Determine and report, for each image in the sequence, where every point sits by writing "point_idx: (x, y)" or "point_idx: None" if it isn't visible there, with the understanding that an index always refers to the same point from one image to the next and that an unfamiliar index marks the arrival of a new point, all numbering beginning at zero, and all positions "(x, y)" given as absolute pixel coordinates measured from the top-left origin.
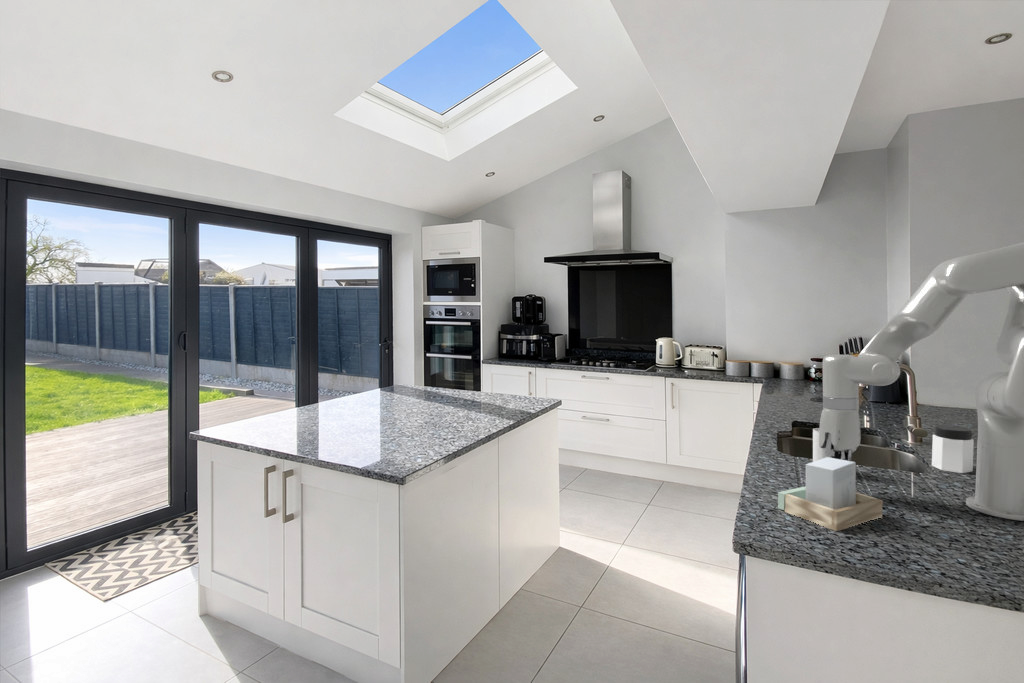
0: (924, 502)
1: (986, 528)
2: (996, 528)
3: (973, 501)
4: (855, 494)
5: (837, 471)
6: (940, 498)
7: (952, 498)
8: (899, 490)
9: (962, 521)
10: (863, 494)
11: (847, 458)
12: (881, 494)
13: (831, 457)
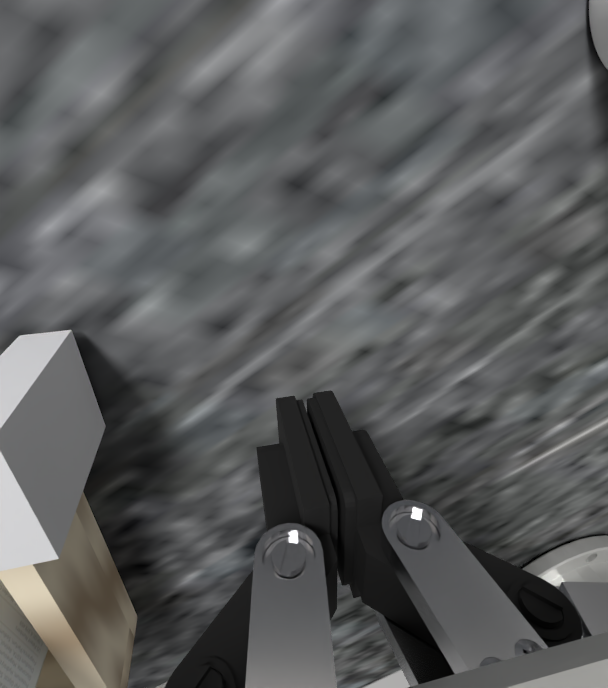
0: (469, 522)
1: (369, 658)
2: (391, 657)
3: (553, 577)
4: (35, 682)
5: None
6: (560, 502)
7: (588, 507)
8: (560, 415)
9: (371, 630)
10: (97, 671)
11: (381, 619)
12: (437, 435)
13: (254, 573)
